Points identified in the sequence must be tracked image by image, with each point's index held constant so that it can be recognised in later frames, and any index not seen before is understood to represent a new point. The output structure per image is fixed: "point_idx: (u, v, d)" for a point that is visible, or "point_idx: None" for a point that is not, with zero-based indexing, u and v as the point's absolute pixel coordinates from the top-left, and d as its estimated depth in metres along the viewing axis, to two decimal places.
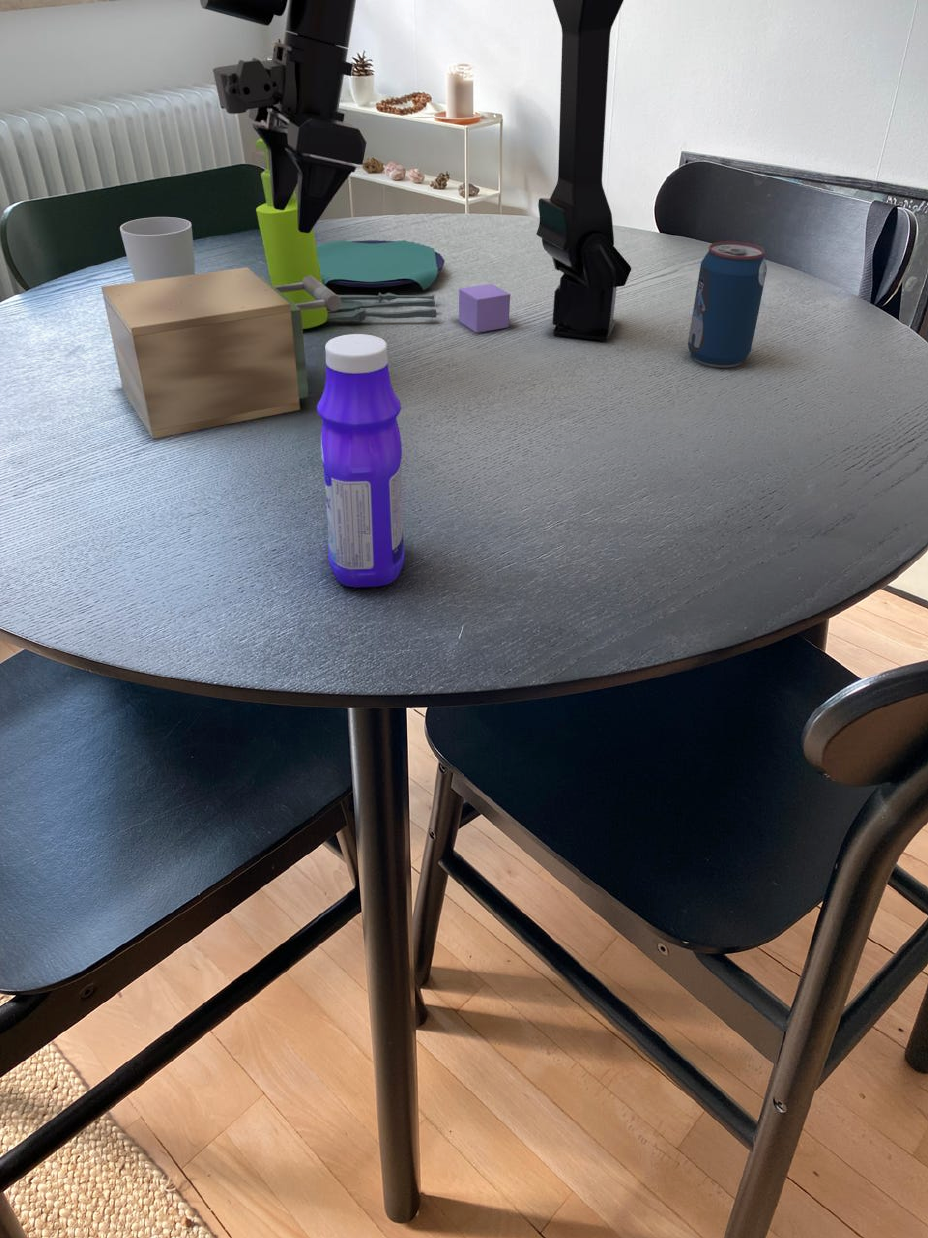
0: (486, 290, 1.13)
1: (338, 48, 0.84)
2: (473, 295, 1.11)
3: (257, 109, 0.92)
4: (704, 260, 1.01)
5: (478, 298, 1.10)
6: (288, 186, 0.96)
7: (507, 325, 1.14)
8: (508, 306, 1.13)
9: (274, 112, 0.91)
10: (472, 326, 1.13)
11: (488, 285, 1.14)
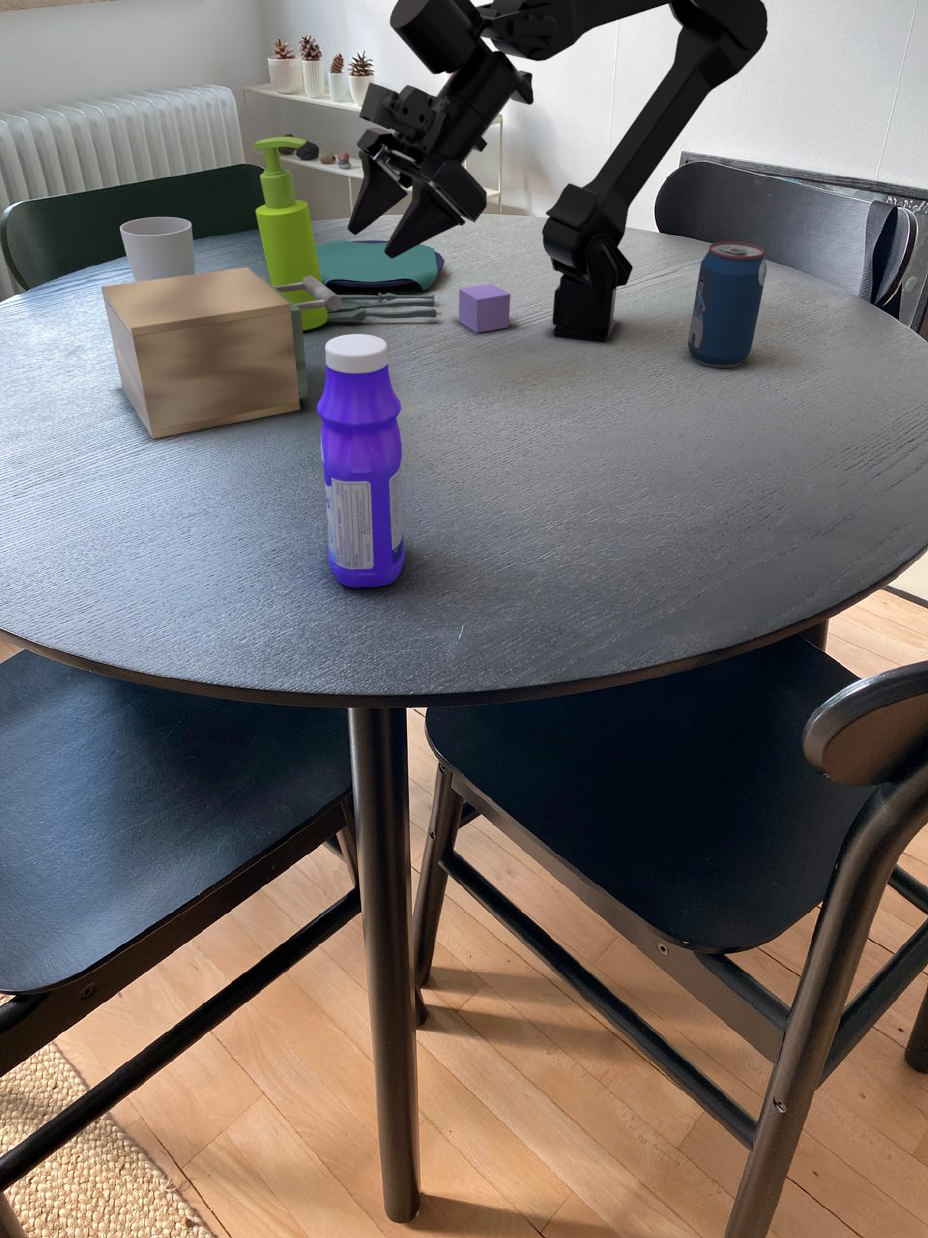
0: (486, 290, 1.13)
1: (484, 124, 0.92)
2: (473, 295, 1.11)
3: (374, 140, 0.96)
4: (704, 260, 1.01)
5: (478, 298, 1.10)
6: (368, 217, 0.99)
7: (507, 325, 1.14)
8: (508, 306, 1.13)
9: (390, 149, 0.96)
10: (472, 326, 1.13)
11: (488, 285, 1.14)
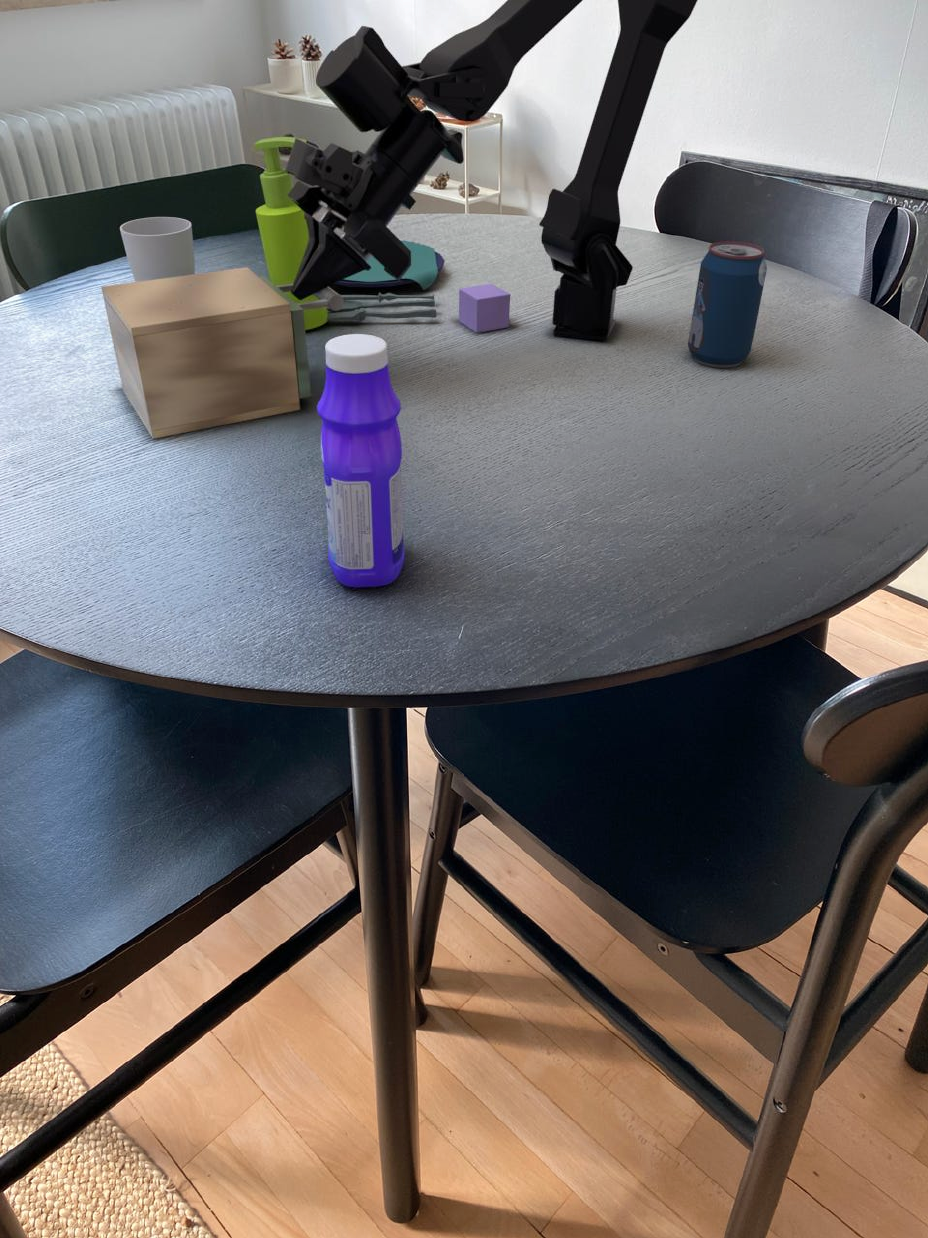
0: (486, 290, 1.13)
1: (412, 182, 0.91)
2: (473, 295, 1.11)
3: (304, 193, 0.95)
4: (704, 260, 1.01)
5: (478, 298, 1.10)
6: None
7: (507, 325, 1.14)
8: (508, 306, 1.13)
9: (336, 213, 0.92)
10: (472, 326, 1.13)
11: (488, 285, 1.14)
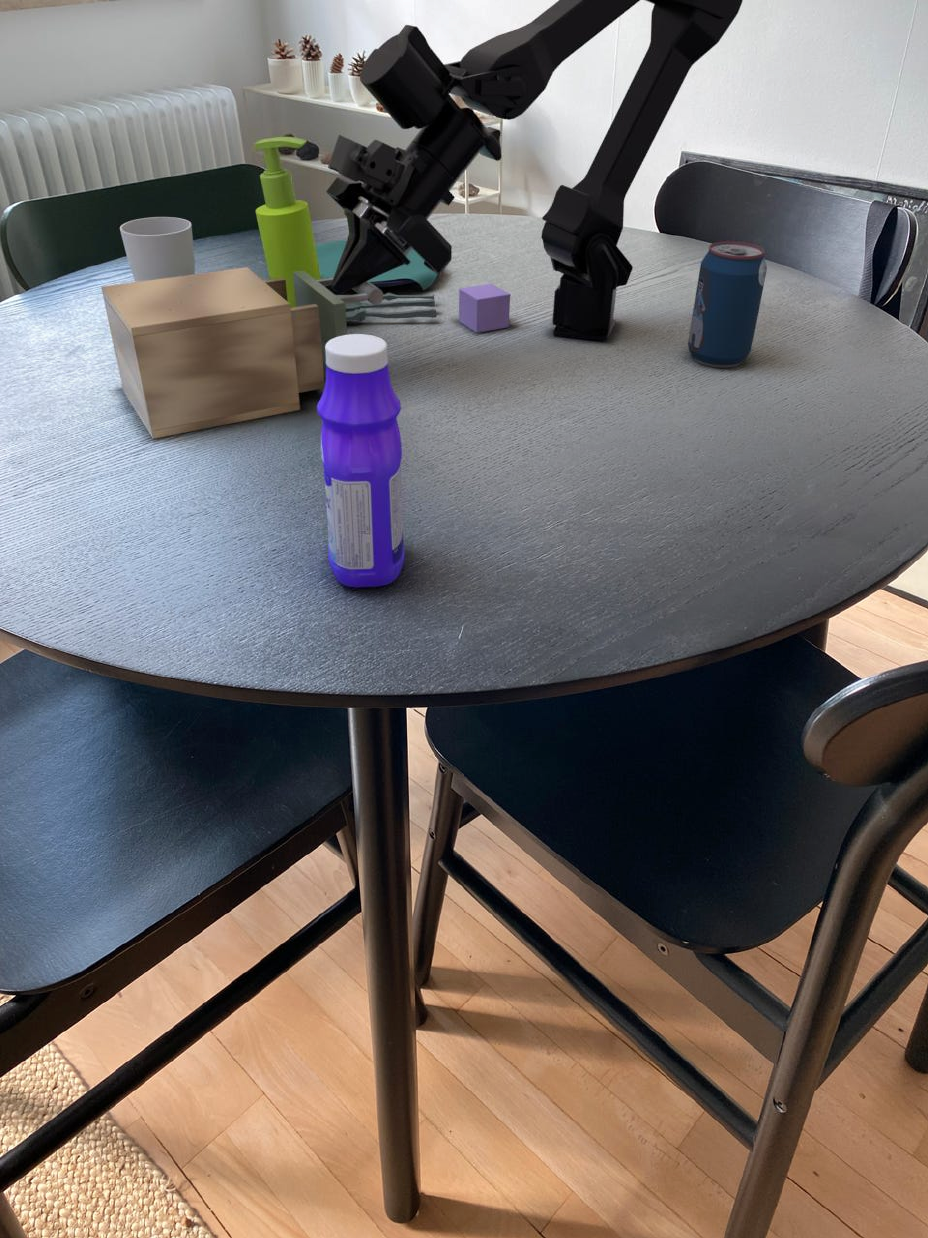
0: (486, 290, 1.13)
1: (451, 179, 0.93)
2: (473, 295, 1.11)
3: (343, 188, 0.97)
4: (704, 260, 1.01)
5: (478, 298, 1.10)
6: None
7: (507, 325, 1.14)
8: (508, 306, 1.13)
9: (376, 208, 0.94)
10: (472, 326, 1.13)
11: (488, 285, 1.14)
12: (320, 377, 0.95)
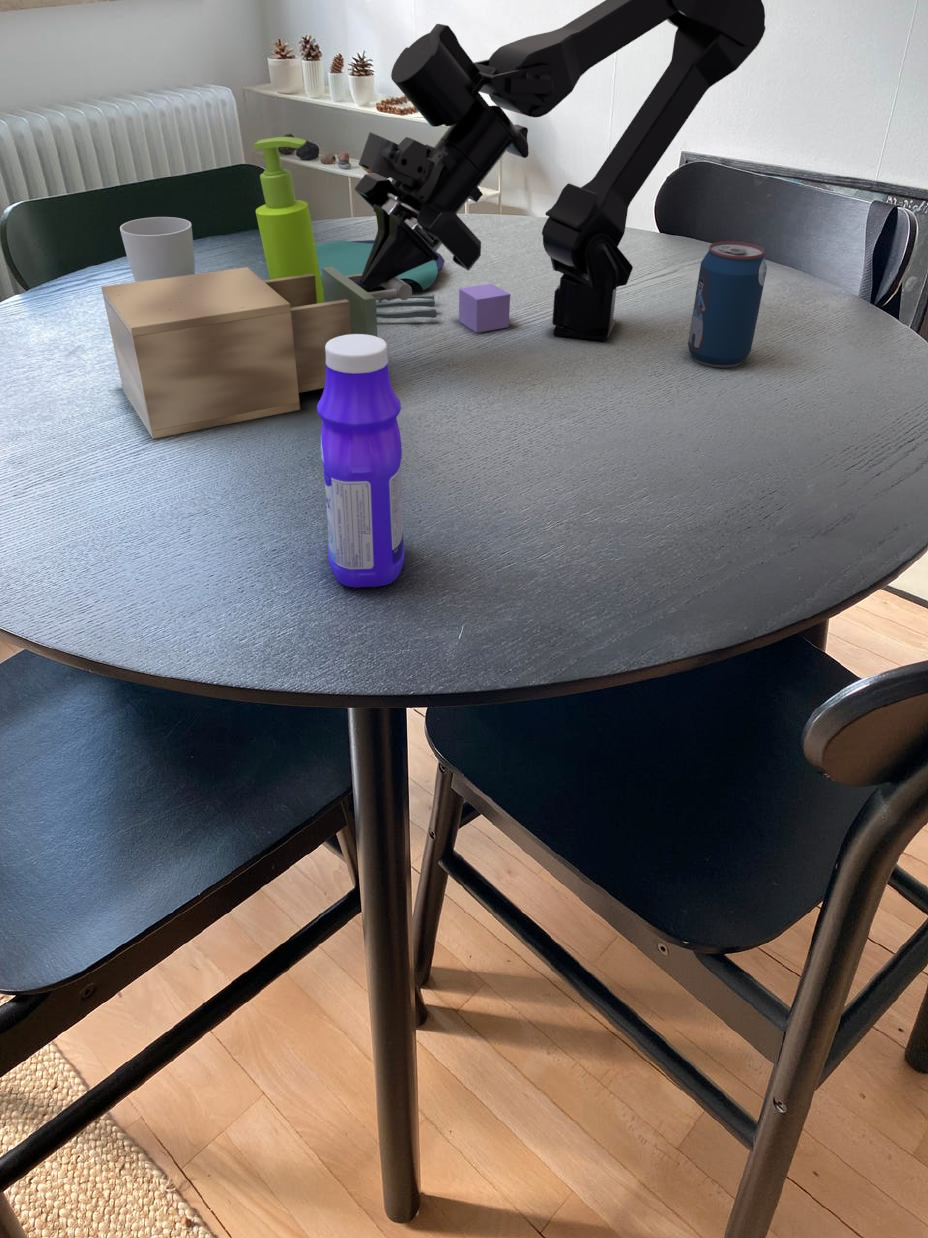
0: (486, 290, 1.13)
1: (480, 176, 0.94)
2: (473, 295, 1.11)
3: (372, 185, 0.98)
4: (704, 260, 1.01)
5: (478, 298, 1.10)
6: None
7: (507, 325, 1.14)
8: (508, 306, 1.13)
9: (405, 205, 0.95)
10: (472, 326, 1.13)
11: (488, 285, 1.14)
12: None
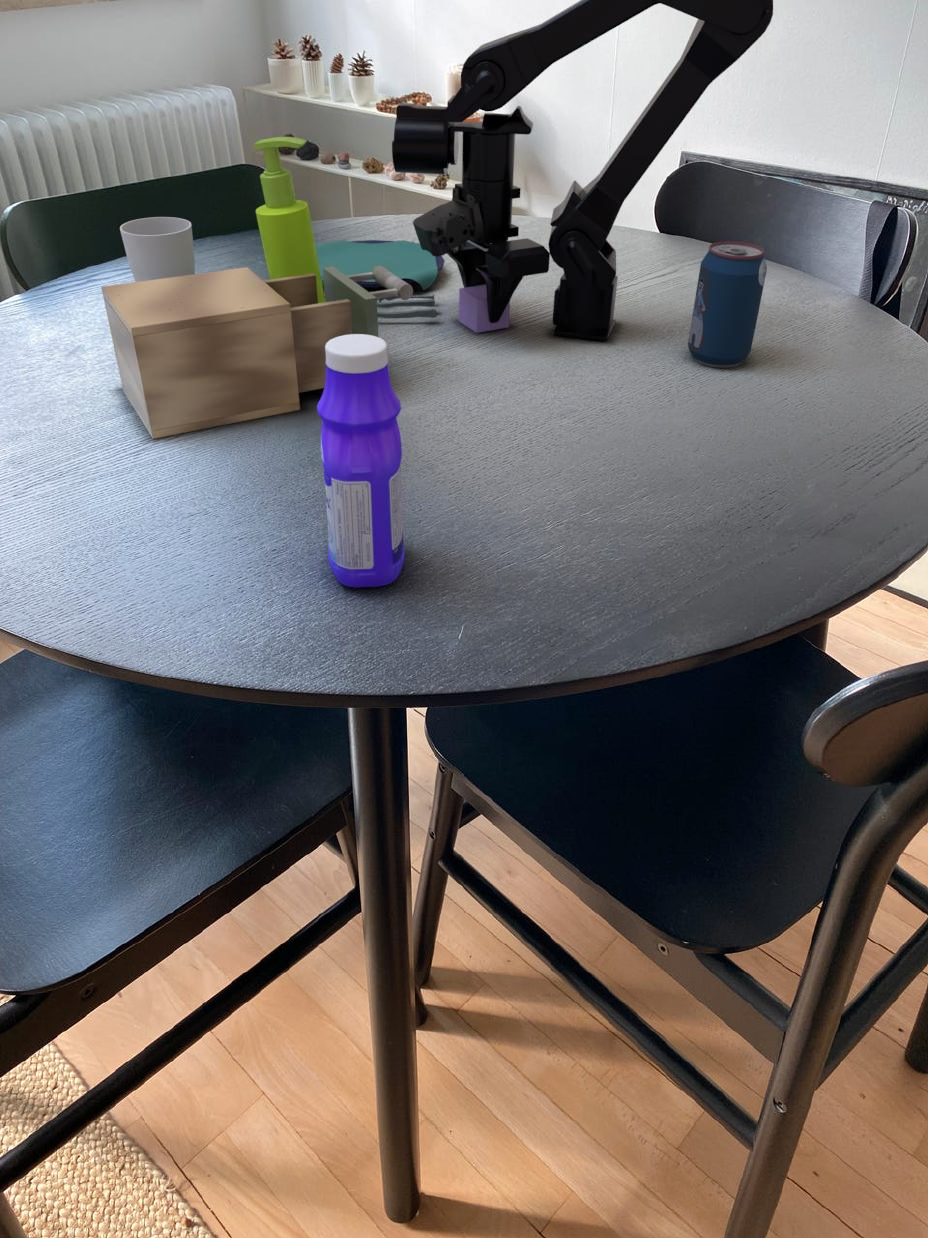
0: None
1: (509, 181, 1.04)
2: (473, 295, 1.11)
3: None
4: (704, 260, 1.01)
5: (478, 298, 1.10)
6: None
7: (507, 325, 1.14)
8: (508, 306, 1.13)
9: None
10: (472, 326, 1.13)
11: None
12: None
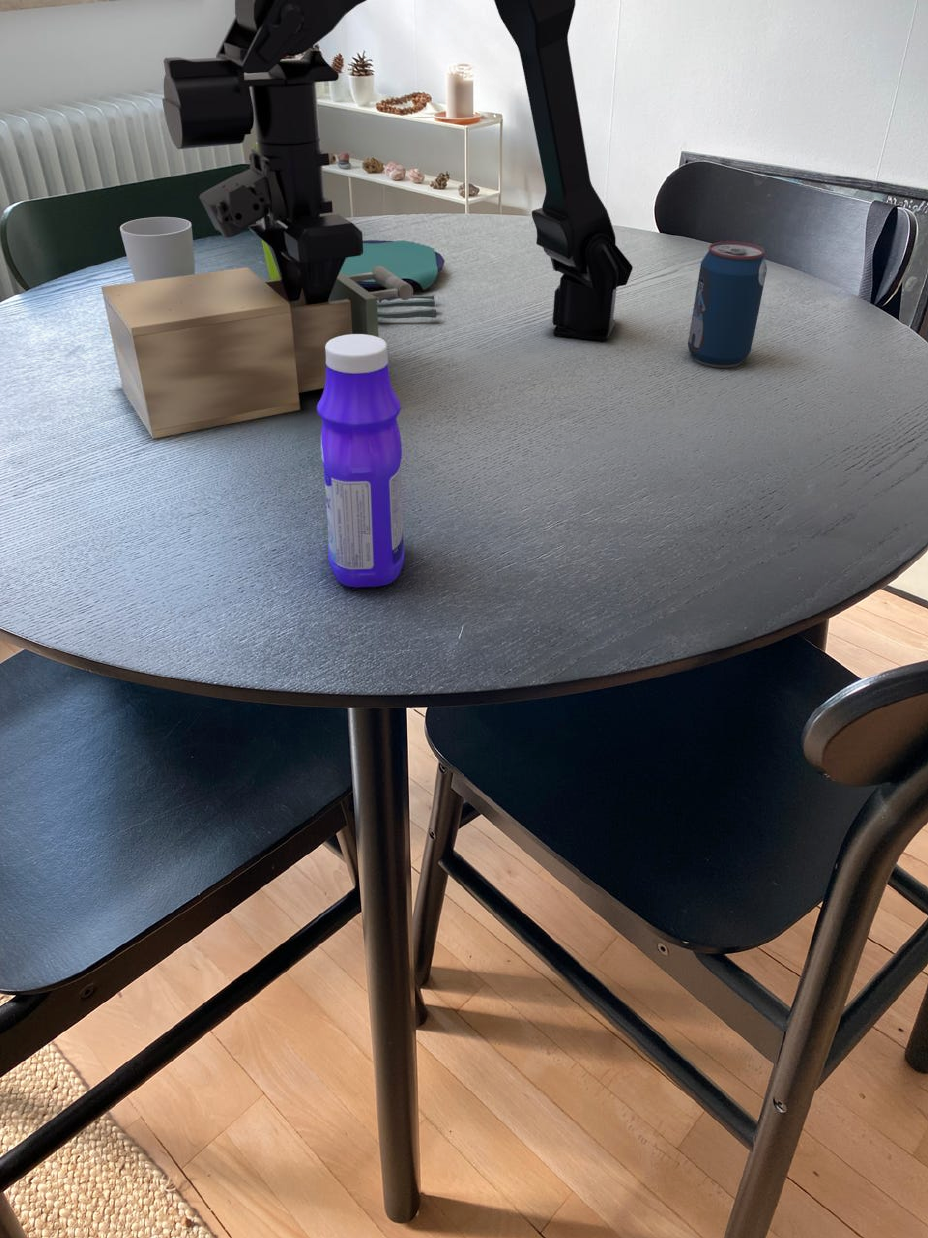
0: None
1: (311, 144, 0.85)
2: None
3: None
4: (704, 260, 1.01)
5: None
6: (297, 277, 0.97)
7: None
8: None
9: (268, 214, 0.92)
10: None
11: None
12: None
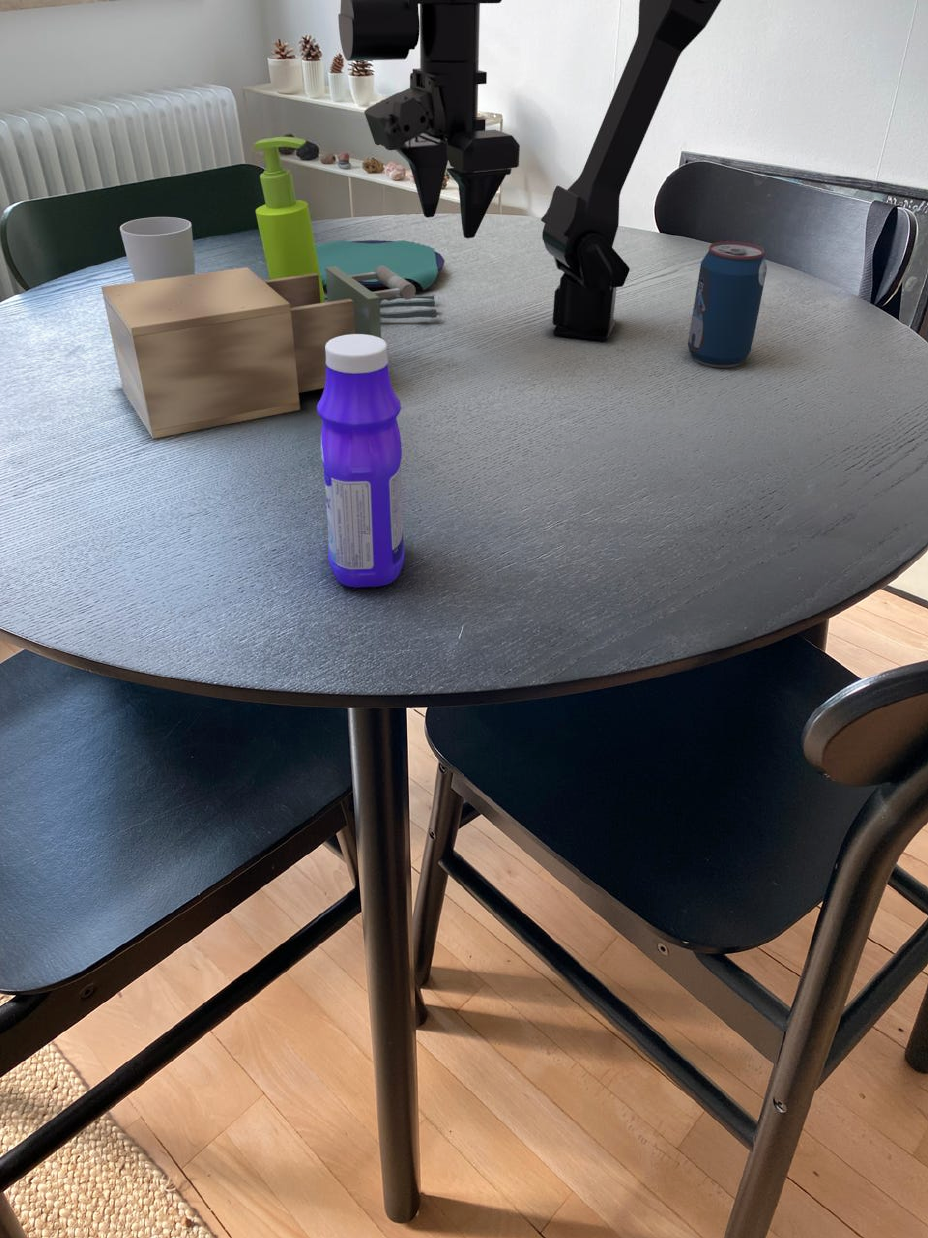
0: None
1: (473, 62, 0.91)
2: None
3: None
4: (704, 260, 1.01)
5: None
6: (434, 193, 1.03)
7: None
8: None
9: None
10: None
11: None
12: None
